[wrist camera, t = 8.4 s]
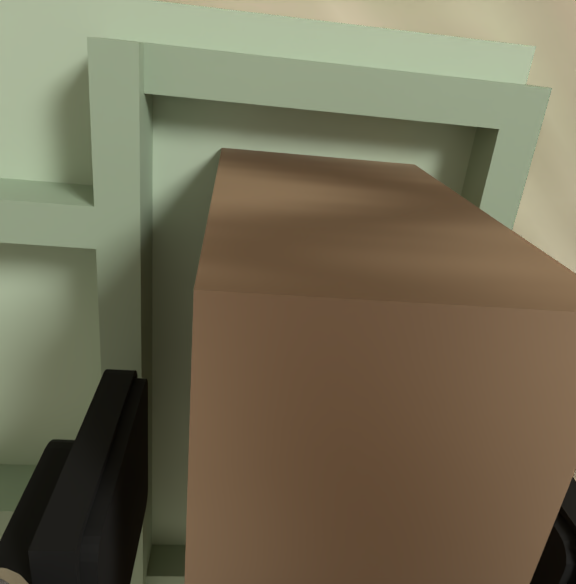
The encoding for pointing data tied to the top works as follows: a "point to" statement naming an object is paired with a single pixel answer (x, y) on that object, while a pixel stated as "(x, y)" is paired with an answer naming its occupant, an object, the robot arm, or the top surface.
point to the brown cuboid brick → (372, 381)
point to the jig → (195, 189)
